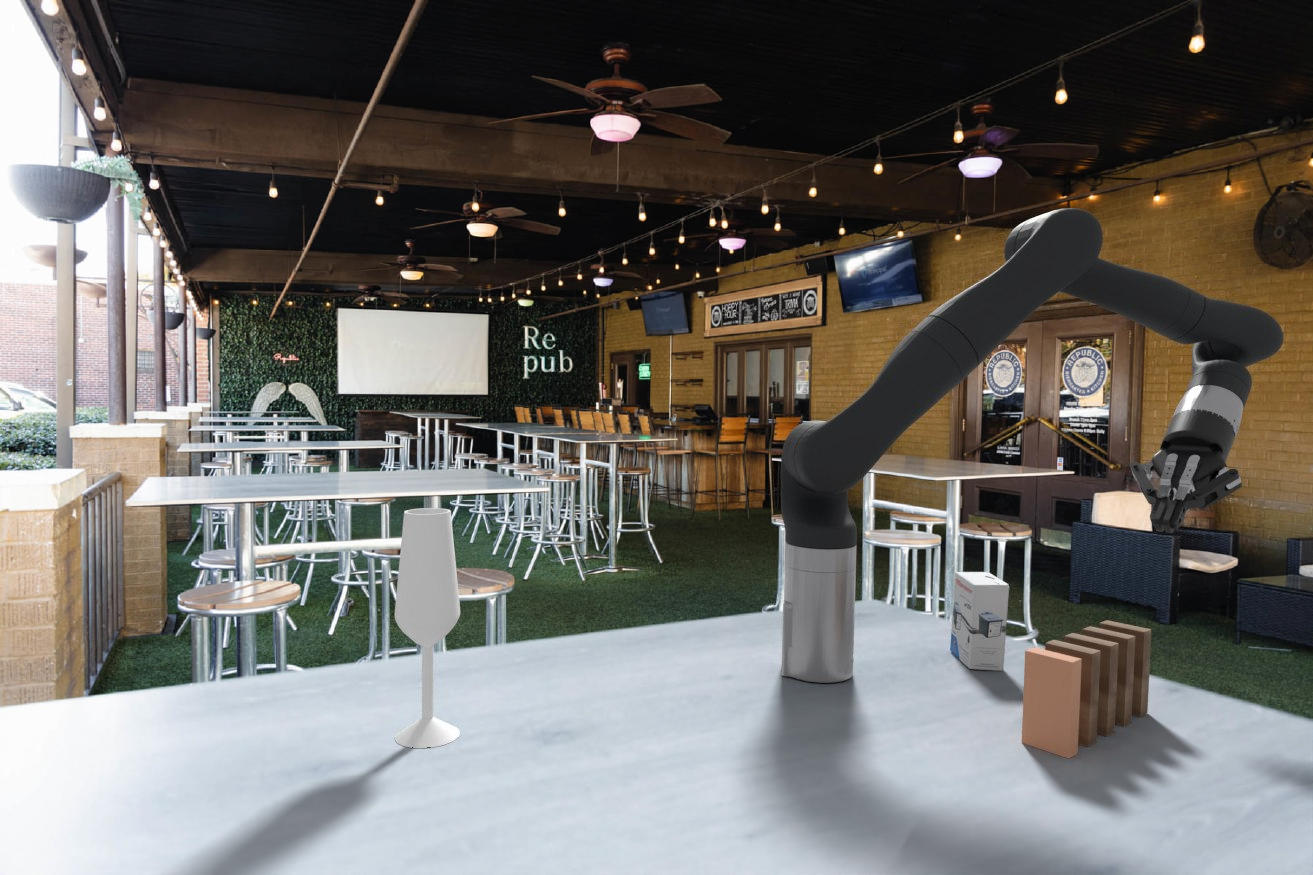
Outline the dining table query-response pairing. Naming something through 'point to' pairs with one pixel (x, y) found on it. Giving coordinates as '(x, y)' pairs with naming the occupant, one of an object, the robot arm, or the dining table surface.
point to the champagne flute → (427, 608)
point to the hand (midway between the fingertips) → (1162, 527)
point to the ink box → (979, 620)
